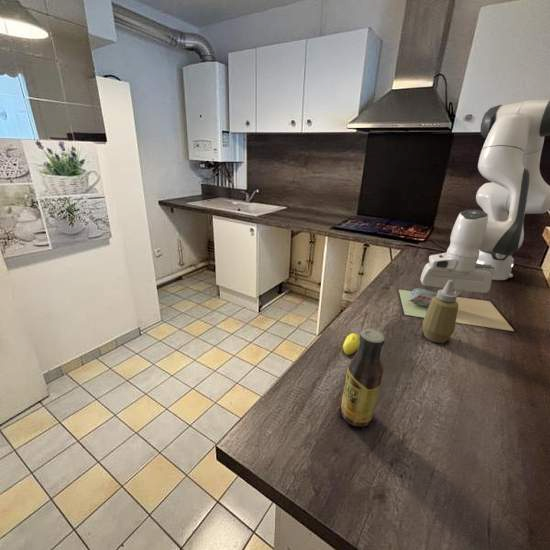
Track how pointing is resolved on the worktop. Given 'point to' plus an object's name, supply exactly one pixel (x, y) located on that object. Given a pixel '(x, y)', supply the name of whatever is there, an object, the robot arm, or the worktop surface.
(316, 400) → the worktop surface
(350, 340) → the lemon
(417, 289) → the packaged food
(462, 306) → the mat
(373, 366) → the sauce bottle
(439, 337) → the squeeze bottle
